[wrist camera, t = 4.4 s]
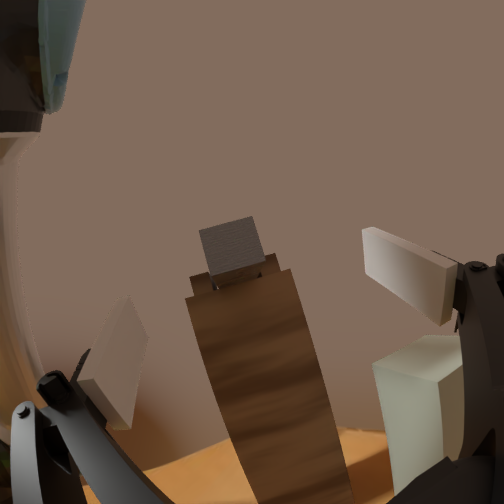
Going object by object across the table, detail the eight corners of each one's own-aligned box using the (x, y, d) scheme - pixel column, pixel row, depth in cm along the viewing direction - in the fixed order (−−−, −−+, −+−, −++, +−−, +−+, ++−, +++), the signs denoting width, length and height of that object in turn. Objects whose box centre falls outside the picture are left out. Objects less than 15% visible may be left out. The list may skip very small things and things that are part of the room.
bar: (266, 260, 17) (252, 216, 18) (210, 276, 17) (198, 230, 18) (249, 291, 39) (243, 270, 39) (225, 298, 38) (219, 277, 39)
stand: (355, 506, 20) (284, 250, 26) (273, 534, 19) (180, 279, 25) (331, 472, 30) (271, 268, 36) (265, 493, 29) (195, 289, 35)
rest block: (489, 493, 10) (496, 335, 14) (437, 535, 9) (437, 382, 13) (440, 466, 20) (426, 335, 24) (394, 495, 19) (371, 363, 23)
